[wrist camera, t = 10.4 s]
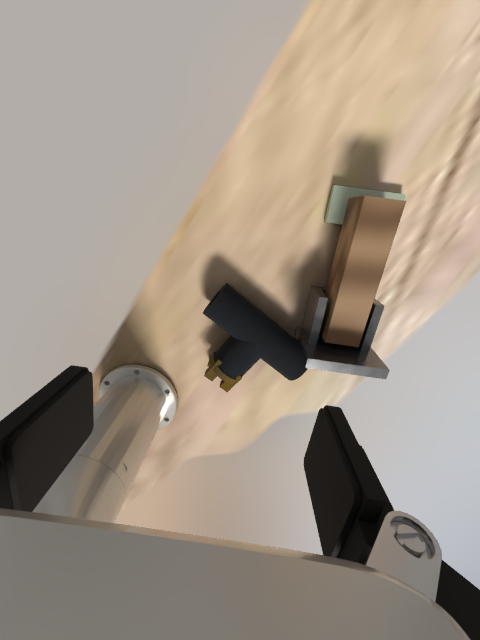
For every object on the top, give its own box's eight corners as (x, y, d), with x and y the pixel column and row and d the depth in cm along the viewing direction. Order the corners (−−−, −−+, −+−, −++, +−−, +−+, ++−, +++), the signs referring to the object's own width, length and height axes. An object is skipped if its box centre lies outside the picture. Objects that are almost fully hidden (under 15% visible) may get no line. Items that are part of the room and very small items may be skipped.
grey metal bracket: (358, 343, 38) (386, 379, 30) (295, 334, 39) (305, 367, 30) (373, 294, 36) (408, 319, 27) (306, 285, 36) (320, 307, 28)
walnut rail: (345, 330, 37) (358, 347, 32) (316, 326, 37) (325, 342, 32) (383, 202, 31) (406, 200, 26) (349, 198, 31) (364, 195, 26)
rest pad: (389, 230, 33) (393, 231, 32) (324, 222, 33) (326, 222, 32) (401, 194, 31) (405, 194, 30) (332, 185, 31) (334, 185, 31)
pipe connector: (257, 416, 38) (169, 354, 35) (256, 394, 43) (180, 337, 40) (316, 362, 35) (224, 288, 32) (308, 344, 40) (228, 279, 37)
